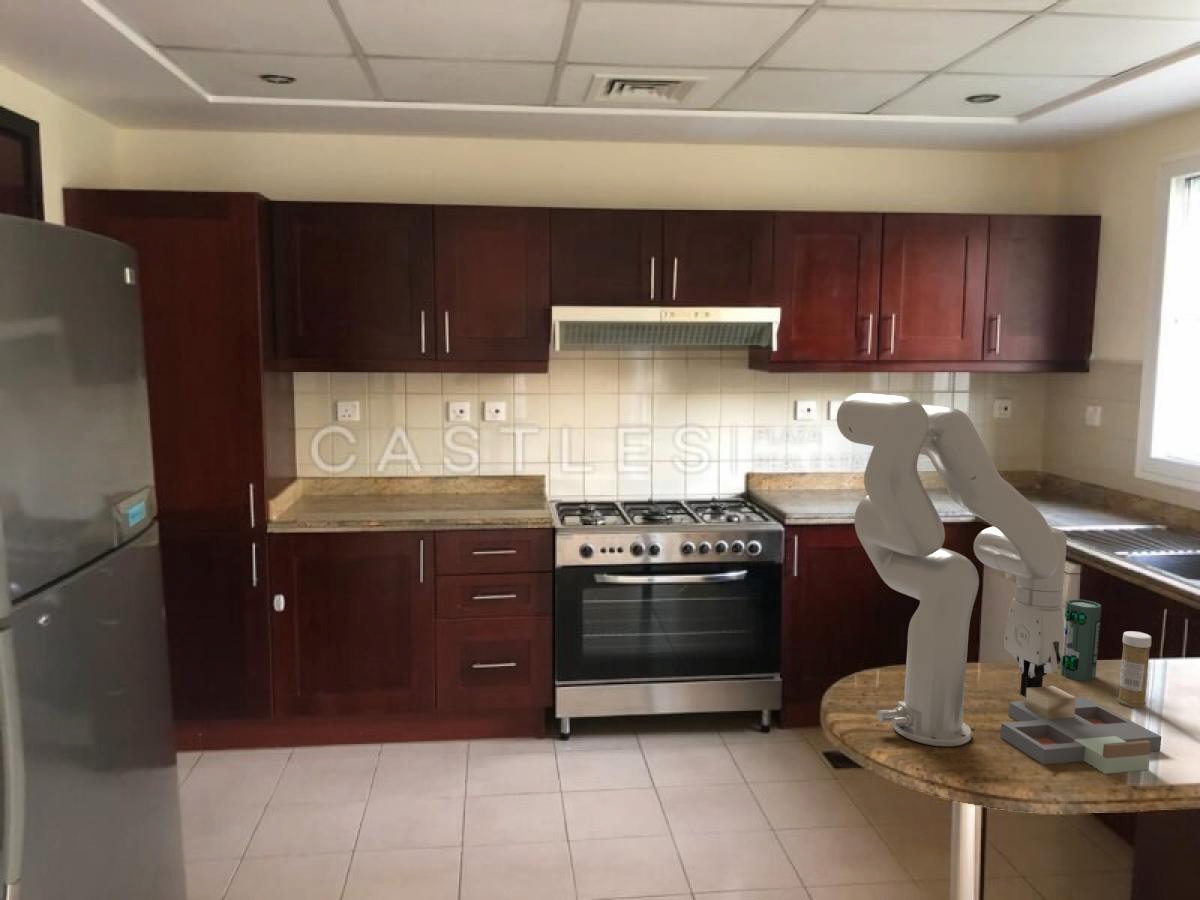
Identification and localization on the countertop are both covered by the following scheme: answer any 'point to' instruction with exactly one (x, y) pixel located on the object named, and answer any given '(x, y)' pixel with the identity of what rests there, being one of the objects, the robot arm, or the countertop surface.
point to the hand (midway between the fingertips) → (1030, 696)
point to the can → (1080, 639)
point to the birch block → (1050, 702)
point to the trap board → (1082, 737)
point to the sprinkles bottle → (1134, 669)
